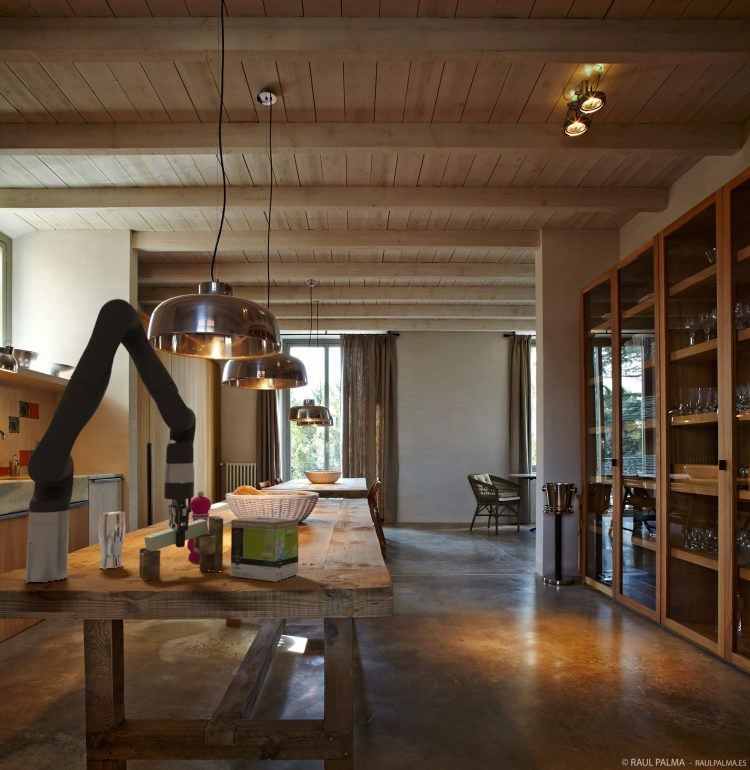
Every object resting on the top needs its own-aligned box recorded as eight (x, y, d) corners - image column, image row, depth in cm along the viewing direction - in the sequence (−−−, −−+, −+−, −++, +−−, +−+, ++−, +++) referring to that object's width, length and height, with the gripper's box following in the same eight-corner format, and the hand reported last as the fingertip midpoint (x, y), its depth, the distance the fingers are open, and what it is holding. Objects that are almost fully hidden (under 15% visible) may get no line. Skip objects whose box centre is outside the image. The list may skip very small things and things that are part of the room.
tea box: (299, 575, 159) (299, 517, 160) (274, 583, 150) (274, 522, 152) (255, 569, 167) (256, 514, 168) (229, 576, 158) (230, 518, 159)
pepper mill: (215, 557, 184) (216, 490, 186) (206, 562, 177) (208, 492, 179) (192, 557, 185) (193, 490, 187) (182, 561, 178) (184, 492, 179)
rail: (152, 551, 155) (150, 538, 155) (146, 549, 158) (144, 536, 158) (208, 532, 166) (206, 520, 166) (202, 531, 169) (200, 519, 169)
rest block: (143, 580, 154) (144, 552, 155) (138, 575, 160) (139, 548, 160) (159, 578, 156) (160, 550, 157) (155, 573, 162) (155, 546, 162)
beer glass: (125, 563, 175) (126, 510, 176) (123, 568, 169) (125, 513, 170) (98, 565, 173) (100, 511, 174) (95, 570, 166) (97, 514, 168)
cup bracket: (199, 574, 161) (200, 520, 162) (193, 569, 167) (194, 517, 168) (222, 571, 164) (223, 518, 165) (215, 567, 170) (216, 515, 171)
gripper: (159, 479, 168) (158, 543, 166) (170, 482, 155) (168, 551, 154) (187, 478, 171) (186, 540, 170) (200, 481, 159) (199, 548, 158)
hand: (178, 545), depth 162 cm, fingers open, 4 cm apart
